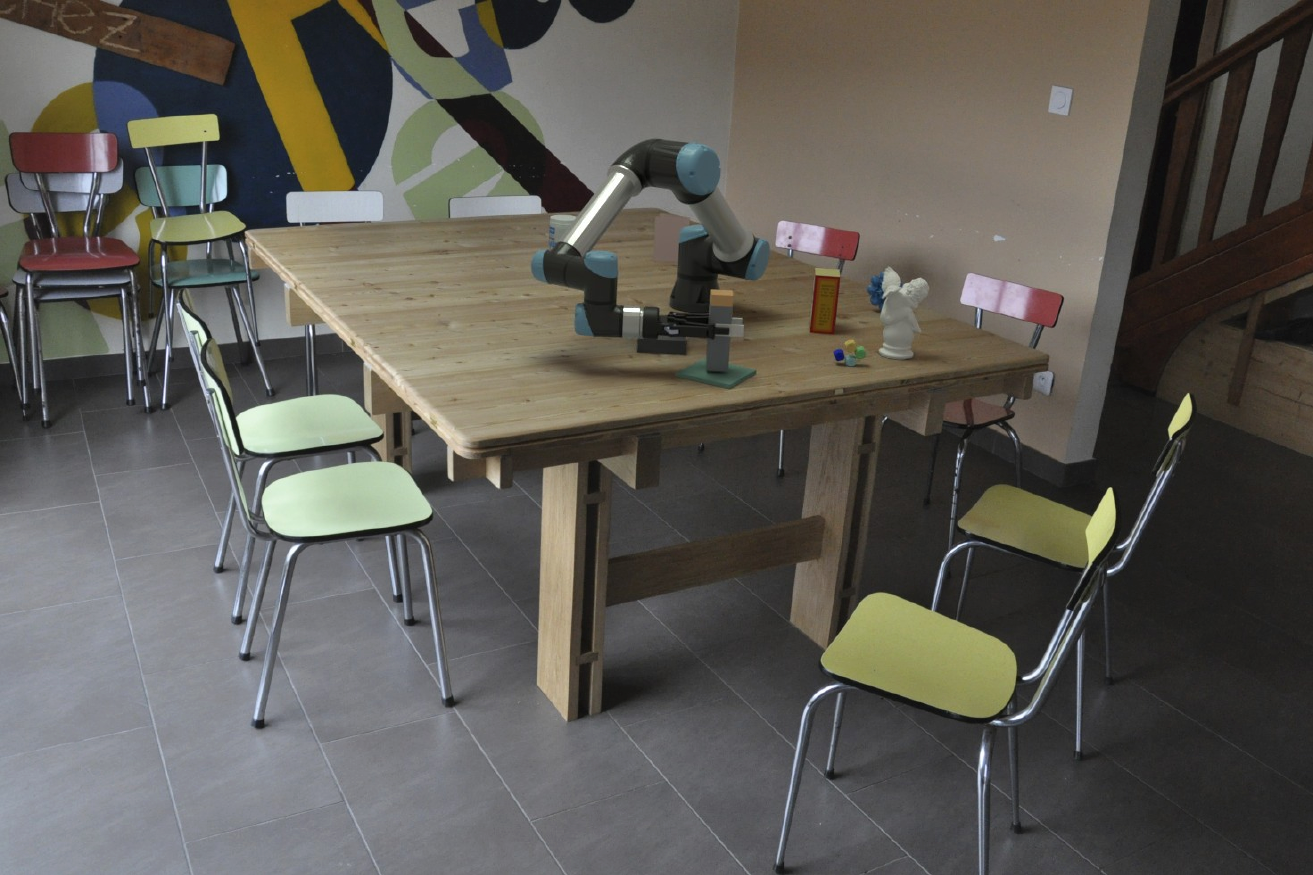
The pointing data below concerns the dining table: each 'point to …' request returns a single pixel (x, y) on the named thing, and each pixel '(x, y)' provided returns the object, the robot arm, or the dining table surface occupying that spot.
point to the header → (662, 344)
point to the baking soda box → (824, 300)
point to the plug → (721, 344)
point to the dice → (850, 347)
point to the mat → (716, 374)
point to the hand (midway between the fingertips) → (742, 327)
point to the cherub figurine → (900, 314)
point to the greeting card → (668, 236)
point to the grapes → (877, 290)
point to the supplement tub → (558, 227)
